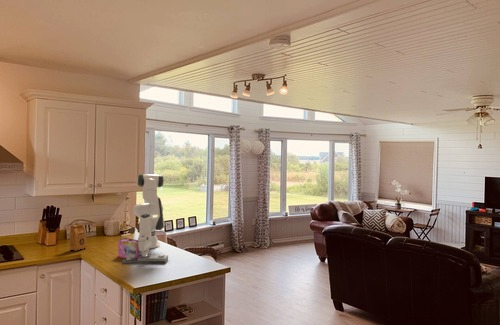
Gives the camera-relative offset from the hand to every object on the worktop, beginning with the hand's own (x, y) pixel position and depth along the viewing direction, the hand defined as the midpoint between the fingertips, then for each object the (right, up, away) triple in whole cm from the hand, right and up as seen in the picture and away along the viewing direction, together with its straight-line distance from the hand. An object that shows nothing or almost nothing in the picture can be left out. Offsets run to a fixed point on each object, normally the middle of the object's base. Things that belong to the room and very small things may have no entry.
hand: (145, 254), depth 276 cm
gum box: (-15, -6, +14) cm, 22 cm away
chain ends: (0, -6, 0) cm, 6 cm away
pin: (0, -6, 0) cm, 6 cm away
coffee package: (-70, -6, +40) cm, 80 cm away
